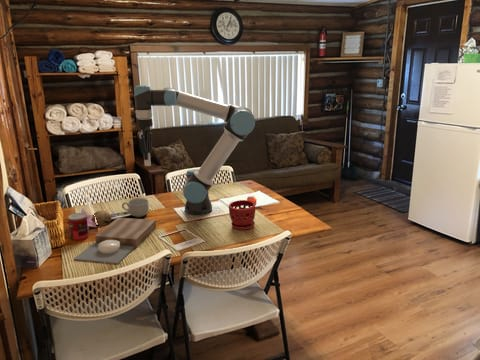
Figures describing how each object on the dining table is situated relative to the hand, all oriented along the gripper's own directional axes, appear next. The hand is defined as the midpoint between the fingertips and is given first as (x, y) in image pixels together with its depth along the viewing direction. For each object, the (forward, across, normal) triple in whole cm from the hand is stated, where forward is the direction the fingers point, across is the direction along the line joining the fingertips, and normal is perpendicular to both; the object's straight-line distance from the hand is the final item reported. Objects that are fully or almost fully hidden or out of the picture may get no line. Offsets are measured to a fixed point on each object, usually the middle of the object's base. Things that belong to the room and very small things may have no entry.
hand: (147, 165), depth 196 cm
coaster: (+29, +36, -4) cm, 46 cm away
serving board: (+29, +20, -4) cm, 36 cm away
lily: (+30, +16, -28) cm, 44 cm away
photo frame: (+30, +20, +23) cm, 43 cm away
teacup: (+30, -5, -11) cm, 32 cm away
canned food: (+30, +26, -25) cm, 47 cm away
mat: (+29, +39, -5) cm, 49 cm away
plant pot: (+30, 0, +48) cm, 56 cm away
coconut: (+30, +8, -25) cm, 39 cm away
